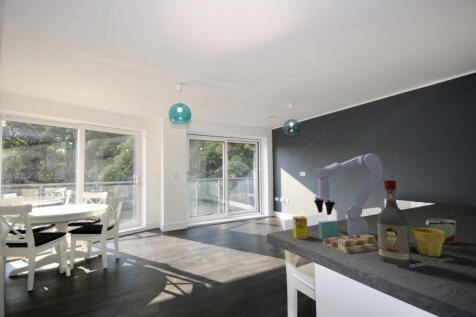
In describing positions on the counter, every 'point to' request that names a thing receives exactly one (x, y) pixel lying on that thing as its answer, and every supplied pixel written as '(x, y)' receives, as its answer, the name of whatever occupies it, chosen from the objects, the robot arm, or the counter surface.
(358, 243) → the offcut
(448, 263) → the counter surface
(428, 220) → the food container
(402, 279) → the counter surface
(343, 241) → the offcut
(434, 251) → the plant pot
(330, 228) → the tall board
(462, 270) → the counter surface
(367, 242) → the offcut
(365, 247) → the rack
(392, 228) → the liquor
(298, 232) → the supplement box
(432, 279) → the counter surface
